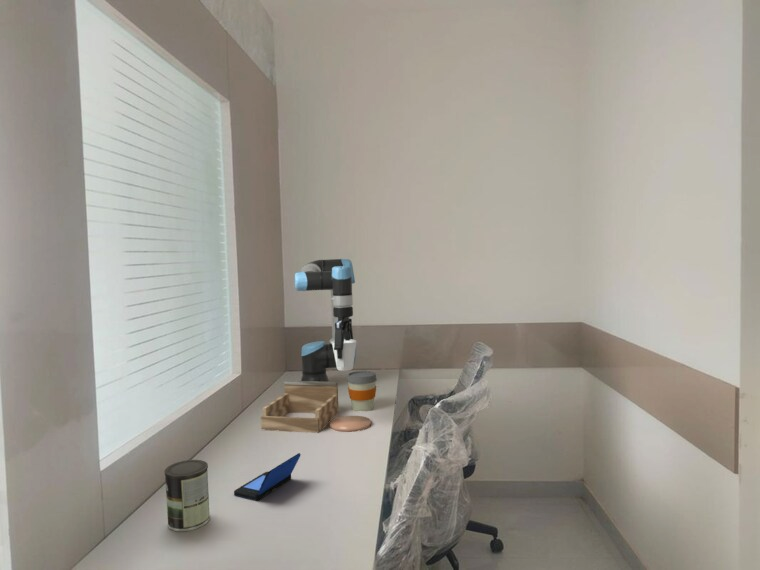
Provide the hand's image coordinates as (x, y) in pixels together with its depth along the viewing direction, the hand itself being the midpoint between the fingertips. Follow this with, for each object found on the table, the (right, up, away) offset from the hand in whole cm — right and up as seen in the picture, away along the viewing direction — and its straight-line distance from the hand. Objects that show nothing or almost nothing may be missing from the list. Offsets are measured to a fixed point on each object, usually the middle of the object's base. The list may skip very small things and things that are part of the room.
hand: (344, 364), depth 210 cm
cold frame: (-18, -24, +8) cm, 31 cm away
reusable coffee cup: (+6, -23, +23) cm, 33 cm away
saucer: (+2, -24, +1) cm, 24 cm away
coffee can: (-35, -30, -72) cm, 85 cm away
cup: (0, -2, 0) cm, 2 cm away
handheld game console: (-18, -28, -54) cm, 64 cm away
